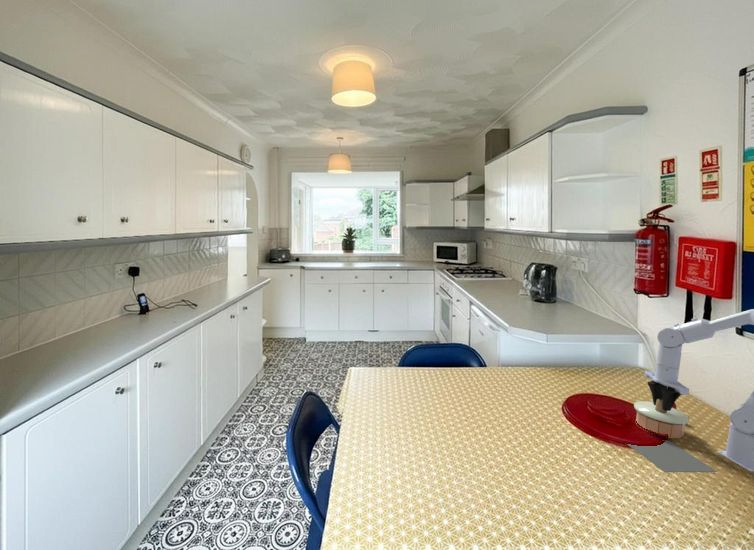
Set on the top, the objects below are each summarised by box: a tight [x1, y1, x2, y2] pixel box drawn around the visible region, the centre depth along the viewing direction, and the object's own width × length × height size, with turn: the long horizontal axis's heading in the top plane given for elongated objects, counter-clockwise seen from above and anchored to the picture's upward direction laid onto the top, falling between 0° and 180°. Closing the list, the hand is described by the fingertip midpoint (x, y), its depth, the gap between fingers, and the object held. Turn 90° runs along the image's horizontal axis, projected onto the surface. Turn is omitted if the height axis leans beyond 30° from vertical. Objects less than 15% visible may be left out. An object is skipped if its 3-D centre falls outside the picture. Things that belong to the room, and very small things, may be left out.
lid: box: [633, 398, 690, 425], centre depth 122 cm, size 14×14×4 cm
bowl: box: [635, 410, 686, 439], centre depth 122 cm, size 12×12×4 cm
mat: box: [626, 440, 718, 473], centre depth 106 cm, size 15×15×1 cm
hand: (661, 407), depth 122 cm, fingers closed on lid, 3 cm apart
